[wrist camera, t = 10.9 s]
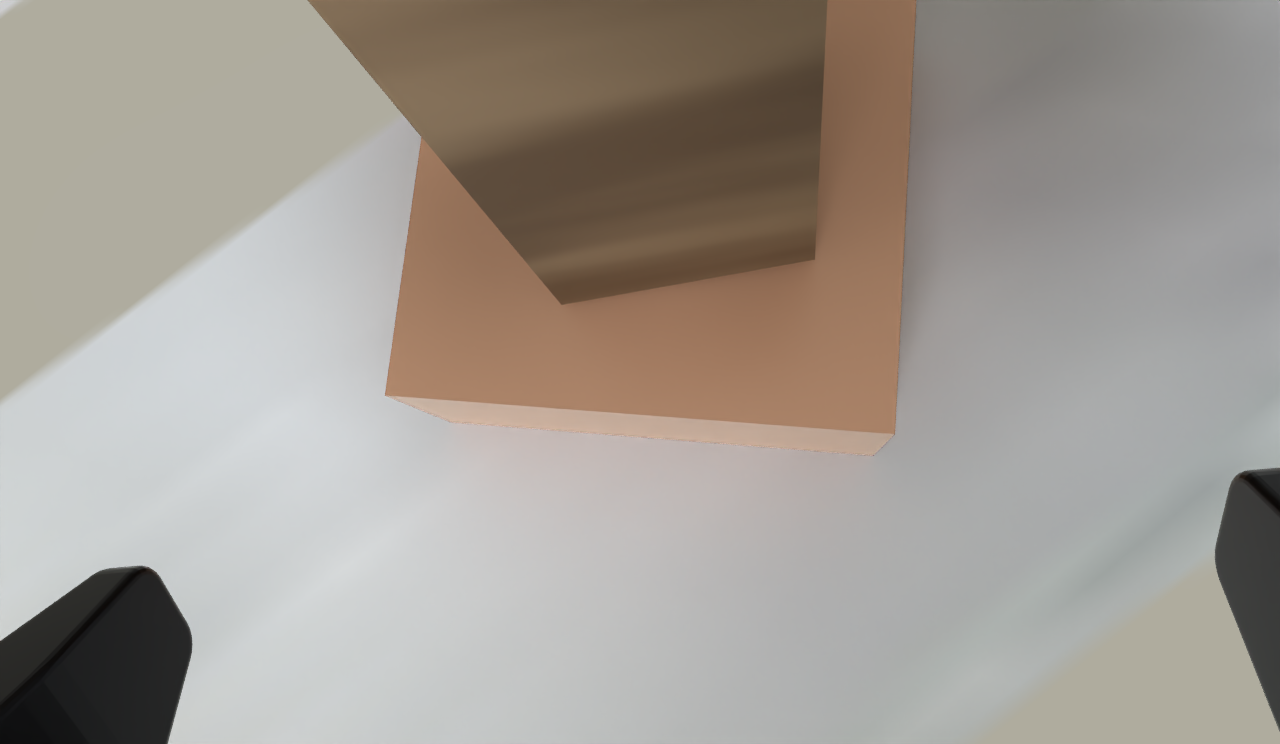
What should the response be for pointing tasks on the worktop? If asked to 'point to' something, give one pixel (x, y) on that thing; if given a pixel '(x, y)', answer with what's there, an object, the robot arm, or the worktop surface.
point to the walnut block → (614, 126)
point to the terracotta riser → (687, 299)
